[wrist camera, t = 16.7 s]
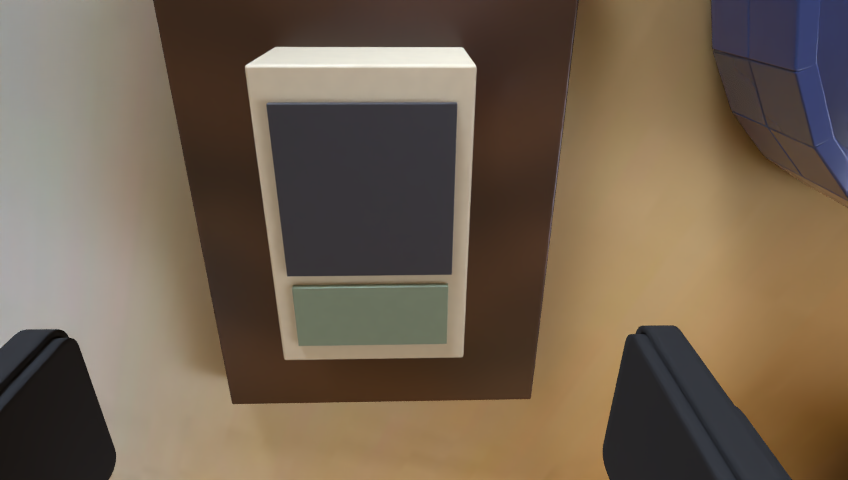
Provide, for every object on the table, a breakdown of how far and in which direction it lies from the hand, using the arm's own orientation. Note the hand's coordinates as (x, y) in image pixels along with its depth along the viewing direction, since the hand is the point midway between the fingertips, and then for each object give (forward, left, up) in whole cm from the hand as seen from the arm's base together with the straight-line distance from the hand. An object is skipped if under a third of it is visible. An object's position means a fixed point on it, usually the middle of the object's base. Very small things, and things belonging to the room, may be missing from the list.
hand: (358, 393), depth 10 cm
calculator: (0, 0, -11) cm, 11 cm away
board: (0, 0, -12) cm, 12 cm away
